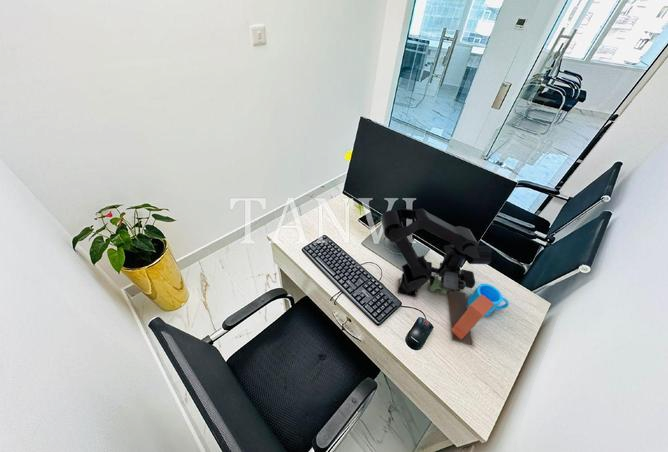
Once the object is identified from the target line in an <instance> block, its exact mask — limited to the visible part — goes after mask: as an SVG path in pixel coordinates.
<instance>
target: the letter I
mask: <svg viewBox="0 0 668 452" xmlns="http://www.w3.org/2000/svg"><path fill="white" fill-rule="evenodd" d="M493 305H494V303H493V302H492V301H490V300H489V299H488V298H486V297H485V296H484V295H482V294H481V295H480V296H479V297H478V298H477V299H476V300H475V301H474V302H473V303H472V304H471V305H470V306H468V307H467V311H466V312H465V313H464V314H463V316H462V317H461V318H460V319H459V321H458V322H457V323H456V324H455V326H454V327H453V328H452V329H450V332H451V333H452V332H453V333H454V334H455V335H456V336H457V337H458V338H460V339H461V340H462V339H463V337H464V336H465V335H466V334H467V333H468V332H469V331H472V329H473V328H474V327H475V326H476V325H477V323H479V322H480V320H481V319H482V318H483V317H485V316H484V315H485V314H486V313H487V311H488V310H489V309H490V308H491V307H492V306H493Z"/></svg>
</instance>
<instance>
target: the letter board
mask: <svg viewBox="0 0 668 452" xmlns="http://www.w3.org/2000/svg"><path fill="white" fill-rule="evenodd" d="M447 295H448V306H449V317H450V328H451V329H452V328H453V327H454V326H455V324H456V323H457V322H458V321H459V319H460V318H461V317H462V316H463V314H464V313H465V312H466V311H467V309H468V303H467V297H466V293H465V292H461V291H460V292H458V291H454V292H450V291H447ZM451 329H450V330H451ZM471 331H472V330H470V331H469V332H468V333H467V334H466V335H465V336H464V337H463V339H462V340H461V339H460V338H458V337H457V336H456V335H455V334H454V333H453V332H452V331H451V340H452V341H455V342H459V343H463V344H466V345H470V346H472V345H473V339H472V332H471Z"/></svg>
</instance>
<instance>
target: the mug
mask: <svg viewBox="0 0 668 452" xmlns="http://www.w3.org/2000/svg"><path fill="white" fill-rule="evenodd" d="M481 294H482V295H484V296H485V297H486V298H488V299H489V300H490V301H492V302H493V303H494V305H493V306H492V307H491V308H490V309H489V310H488V311H487V313H486V314H485V315H484V316H483V317H488V316H490V315H491V314H492V313H493V312H494V310H503V309H506V308H508V307H509V306H510V302H509V300H508V299H507V298H505V297H504V296H503V295H502V292H501V291H500V290H499V289H498V288H497V287H495V285H494V286H493V285H492V284H489V283H480V284H478V286H477V287H476V288H475V289H474V291H473V292H472V293H471V295H470V296H469V297H468V299H467V307H469V306H470V305H471V304H472V303H473V302H474V301H475V300H476V299H477V298H478V297H479V296H480V295H481ZM502 302H505V303H504V304H502V305H500V304H501V303H502Z"/></svg>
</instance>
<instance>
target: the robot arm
mask: <svg viewBox="0 0 668 452" xmlns="http://www.w3.org/2000/svg"><path fill="white" fill-rule="evenodd" d="M402 219H405V220H406V219H407V220H413V221H412V222H411V223H410V224H408V225H405V226H404V224H403V221H402ZM380 222H381V227H382V230H383V231H382V232H383V234H384V236H385V238H386V239H387V240H388V241H389V242H390V243H393V244H395V245H396V247H397V248H398V251H399V252H400V253H401V255H402V257H403V258H404V260H405V261H406V263H405V264H402V265H401V270H402V274H401V276H400V278H399V279H398V282H397V293H398V294H400V295H404V296H408V297H411V298H412V297H413V298H416V294H417V293H418V291H419V289H421V288H422V287H424V285H426V284H427V283H428V282H429V287H430V286H431V285H432V283H433V280H435V276H438V277H439V278H440V280H441V285H440V288H441V289H442V290H446V291H447V292H448V291H450V292H454V291H457V292H461V291H463V290H465V288H469V289H473V288H474V287H475V285H476V278H475V274H474V272H473V271H471V270H467V269H462V268H461V267H462V266H463V264H464V262H465V261H466V262H467V263H468V264H469V265H489V264H490V263H491V262H492V251H493V249H492V248H491V246H490V245H479V242H478V241H477V239H476V237H475V236H474V234H473V232H472V231H471V229H470V228H468V227H464V226H462V225H458V226H454V225H452V224H451V223H448V222H446V221H445V220H442V219H441V218H439V217H437V216H436V215H434V214H431V213H430V212H428V211H427V210H425V209H424V208H415V209H410V208H397V209H392V210H391V209H390V210H387V211H385V212H384V213H382V214H381V216H380ZM418 230H425V231H427V232H429V233H431V234H432V235H435V236H437V237H439V238H441V239H443V240H445V241H447V242H449V244H447V245H444V246H443V249H444V251H445V254H444V255H443V260H442V261H441V262H440V263H439V267H438V268H437V267H434V266H433V262H431V261H428V260H427V259H425V255H421V256H418V254H417V252H416V251H415V249H414V247H413V245H412V243H411V241H410V240H409V238H408V237H409V236H411V235H413V234H414V233H415V232H417V231H418Z"/></svg>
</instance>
